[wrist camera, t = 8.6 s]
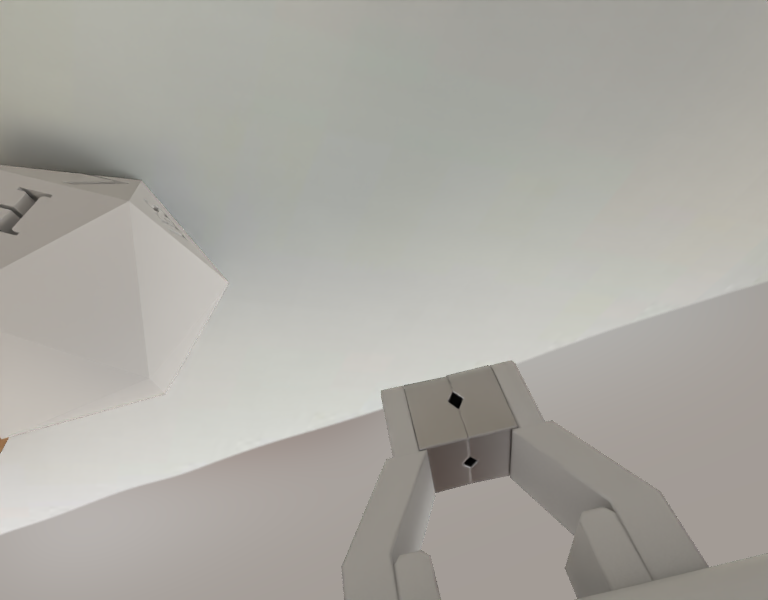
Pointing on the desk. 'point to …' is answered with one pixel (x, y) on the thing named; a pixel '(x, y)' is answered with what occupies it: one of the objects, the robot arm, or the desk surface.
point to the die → (92, 296)
